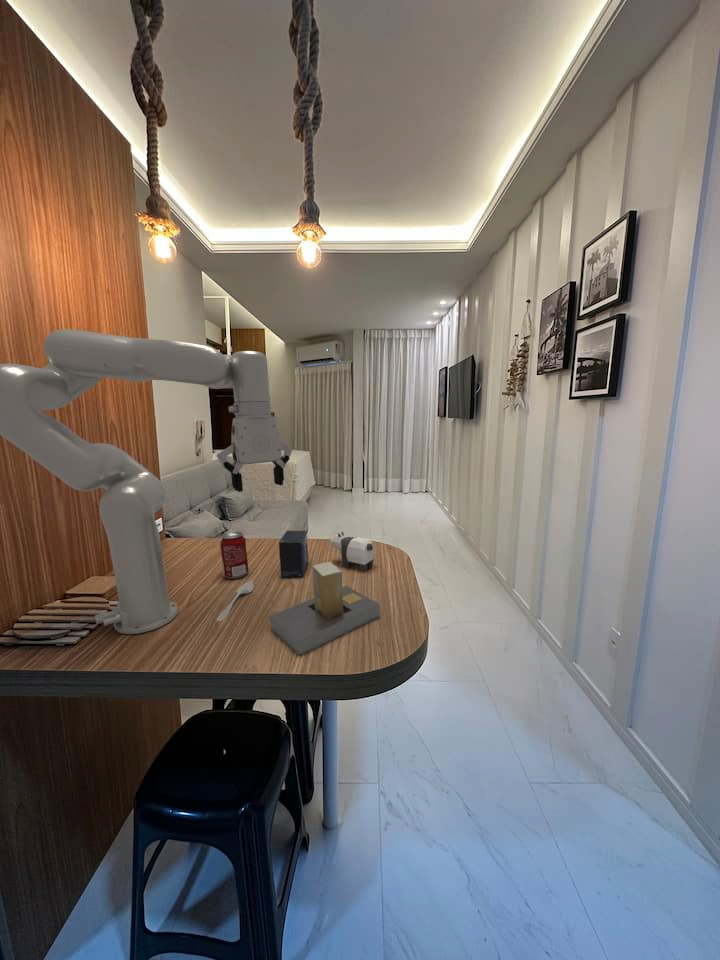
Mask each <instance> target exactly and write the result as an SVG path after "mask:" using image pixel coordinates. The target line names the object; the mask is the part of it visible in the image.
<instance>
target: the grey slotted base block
mask: <svg viewBox="0 0 720 960" xmlns="http://www.w3.org/2000/svg"><path fill="white" fill-rule="evenodd" d="M342 595H343V614H342V615H340V616H338V617H336V618H333V619H331V620H329V621H328V620H327V619H325V618H324V617H322V616H321V615H320V614H318V613H317V612H315V598H311V599H309V600H307V601H304V602H302V603H299V604H297V605H293V606H291V607H288V608H286V609H283V610H281V611H278V612H276V613H274V614H271V615H269V624H270V630H271V631H272V632H273V633H275V635H277V636H278V637H279V638H280V639H281V640H282V641H283V642H284V643H285V644H286V645H288V647H290V648H291V649H292V650H293V651H294V652H295V653H296V654H297V655H298V656H302V655H305V654H307V653H309V652H310V651H312V650H315V649H318V648H319V647H321V646H323V645H325V644H327V643H330V642H331V641H333V640H335V639H336V638H339V637H341V636H343V635H345V634H348V633H349V632H352V631H353V630H355V629H358V628H359V627H363V626H364V625H366V624H368V623H370V622H372V621H374V620H376V619H378V618H380V617H381V615H380V614H381V613H380V612H381V611H380V610H381V609H380V606H381V605H380V603H378V602H376V601H375V600H374V599H371V598H370V597H367V595H364V594H362V593H360V592H359V591H356V590H355V589H353V588H352V587H349V586H347V585H344V586H342Z"/></svg>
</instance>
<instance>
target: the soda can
mask: <svg viewBox="0 0 720 960" xmlns="http://www.w3.org/2000/svg"><path fill="white" fill-rule="evenodd" d="M246 540H247V539H246V538H245V536H244V535H243V532H241V531H230V532H226V533H223V534H222V535H221V540H220V542H219V546H220V555H221V565H222V574H223V577H224V578H226V579H230V580H236V579H241V578H243V577H244V576H246V575H247V574H248V573H249V562H248V553H247V552H248V551H247V543H246Z"/></svg>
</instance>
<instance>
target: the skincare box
mask: <svg viewBox="0 0 720 960" xmlns="http://www.w3.org/2000/svg"><path fill="white" fill-rule="evenodd" d="M342 573H343V572H342V570H340V568H339V567H338V566H337V565H335V564H333V562H331V561H327V562H323V563H318V564H315V565H312V575H313V577H312V578H313V594H314V595H313V596H314V598H315V612H317V613H318V614H320V615H321V616H322V617H324V618H325V619H327V620H328V621H329V620H331V619H333V618H336V617H338V616H340V615H342V614H343V595H342V587H343V575H342ZM314 598H313V599H314Z"/></svg>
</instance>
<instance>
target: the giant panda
mask: <svg viewBox="0 0 720 960" xmlns="http://www.w3.org/2000/svg"><path fill="white" fill-rule="evenodd" d="M329 543H331V545H332V547H333V548H334V549H336V550H337V551H340V555H341V561H342V564H341V565H340V567H341V568H344V569H348V568H350V566H351V564H352V565H355V564H359V568H358V572H363V573H366V572H367V571H368V568H369V569H371V568H372V569H373V567H374V560H375V546H374V544H373V542H372V541H371V540H370V539H368V538H366V537H363V536H362V537H359V536H358V537H354V536H353V537H351V536H347V537H346V536H345V534H344V531H341V533H340V532H339V533H337V534H335V535H334V536H333V538H331V539H329Z"/></svg>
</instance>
